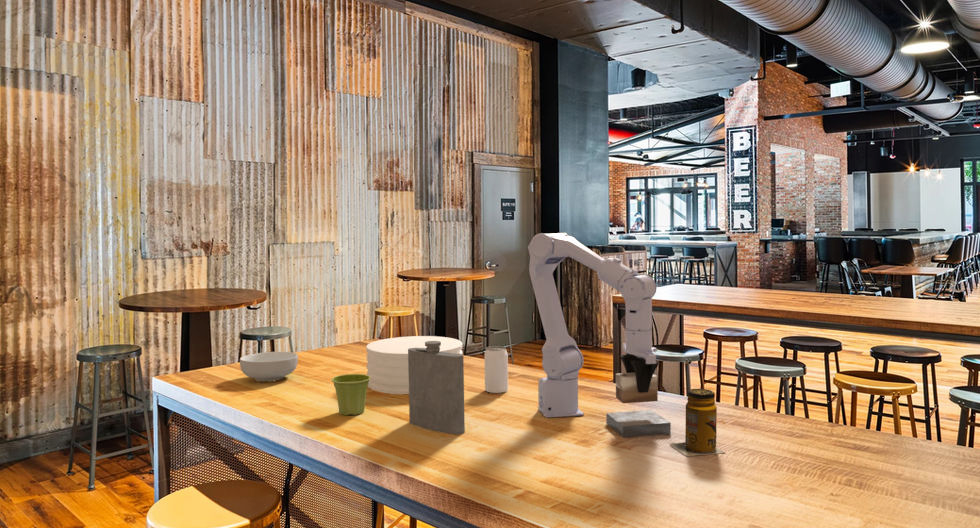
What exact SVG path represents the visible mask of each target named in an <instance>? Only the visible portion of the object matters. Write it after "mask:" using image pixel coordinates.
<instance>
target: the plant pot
mask: <svg viewBox="0 0 980 528" xmlns="http://www.w3.org/2000/svg"><path fill="white" fill-rule="evenodd" d="M370 379H371V377H370V376H368V375H367V374H364V373H363V374H362V373H351V374H350V373H349V374H348V373H347V374H341V375H340V374H339V375H336V376H334V377H332V378H331V382H332V383H333V386H334V389H335V394H336V400H337V407H338V411H339V412H338V413H339V414H340V415H342V416H349V415H353V416H357V415H360V414H363V413H364V412H365V410H366V408H365V407H366V402H367V401H366V400H367V393H368V392H367V391H368V384H369V380H370Z"/></svg>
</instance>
